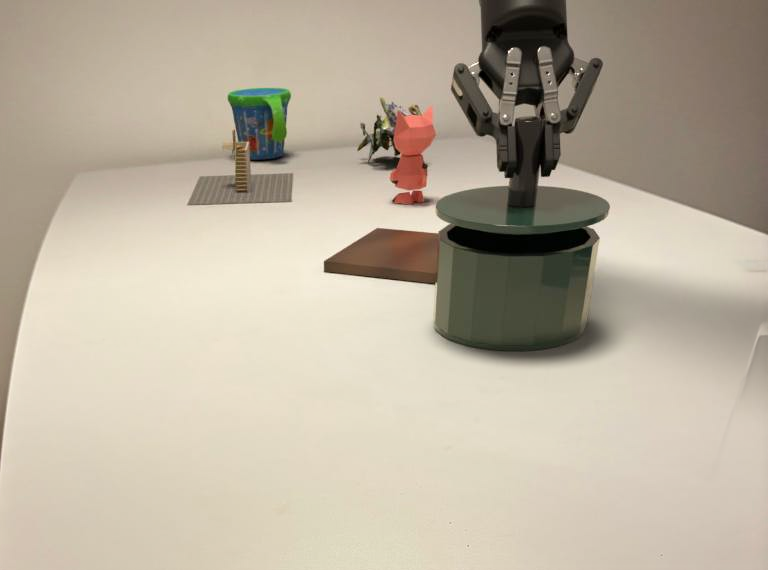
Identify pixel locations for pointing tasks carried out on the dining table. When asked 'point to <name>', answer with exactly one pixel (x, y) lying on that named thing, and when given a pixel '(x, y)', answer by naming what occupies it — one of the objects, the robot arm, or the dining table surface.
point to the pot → (513, 287)
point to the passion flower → (385, 128)
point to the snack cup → (261, 120)
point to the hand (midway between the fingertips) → (529, 171)
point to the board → (389, 256)
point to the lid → (523, 197)
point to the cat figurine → (412, 154)
